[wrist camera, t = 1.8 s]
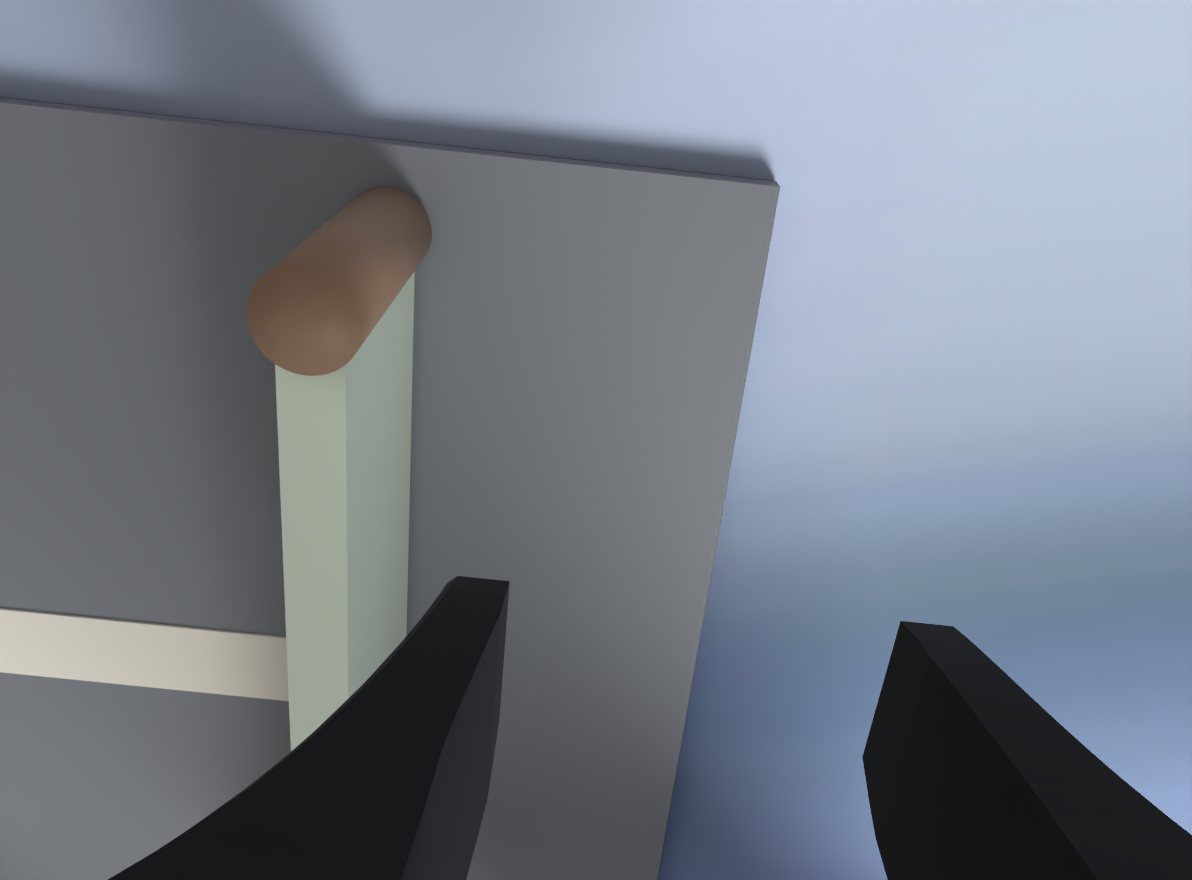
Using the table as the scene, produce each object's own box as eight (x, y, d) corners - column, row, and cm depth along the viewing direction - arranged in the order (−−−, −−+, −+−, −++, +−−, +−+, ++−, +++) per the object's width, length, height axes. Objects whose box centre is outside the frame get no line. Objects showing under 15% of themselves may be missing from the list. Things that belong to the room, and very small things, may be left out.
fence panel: (417, 701, 23) (363, 889, 18) (348, 694, 23) (276, 881, 18) (432, 191, 18) (363, 270, 13) (344, 181, 18) (243, 257, 13)
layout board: (776, 181, 18) (780, 187, 18) (636, 977, 28) (636, 996, 27) (-262, 69, 18) (-287, 72, 18) (-48, 911, 28) (-61, 929, 27)
